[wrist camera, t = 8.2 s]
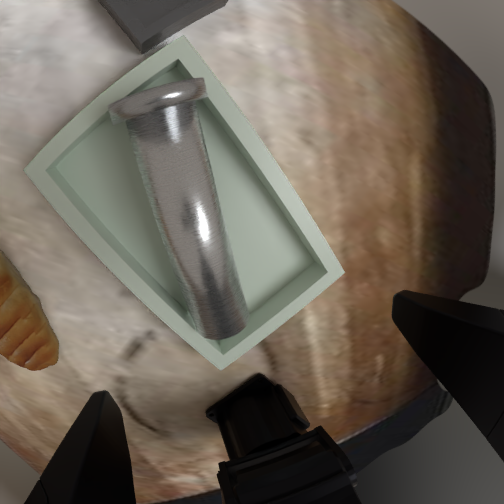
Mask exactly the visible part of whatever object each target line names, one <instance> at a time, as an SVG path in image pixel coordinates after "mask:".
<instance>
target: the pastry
mask: <svg viewBox="0 0 504 504" xmlns="http://www.w3.org/2000/svg"><path fill="white" fill-rule="evenodd" d="M0 354H1V355H3V356H4V357H6V358H7V359H8V360H9V361H11V362H13V363H15V364H17V365H19V366H21V367H24V368H27V369H29V370H31V371H36V370H41V369H44V368H46V367H48V366H50V365H55V364H56V363H57V361H58V354H59V341H58V339H57V337H56V335H55V333H54V332H53V329H52V328H51V326H50V325H49V322H48V319H47V317H46V316H45V314H44V312H43V309H42V306H41V302H40V300H39V298H38V297H37V296H36V295H35V294H33V293H32V291H31V289H30V287H29V286H28V285H27V284H26V282H25V281H24V279H23V278H22V276H21V274H20V273H19V271H18V270H17V269H16V267H15V266H14V265H13V264H12V263H11V261H10V260H9V259H8V258H7V257H6V256H5V254H4V253H3V252H2V251H0Z"/></svg>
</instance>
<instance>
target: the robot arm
mask: <svg viewBox="0 0 504 504" xmlns="http://www.w3.org/2000/svg"><path fill="white" fill-rule="evenodd" d="M392 319H393V321H394V323H395V324H396V326H397V327H398V329H399V330H400V331H401V333H402V334H403V336H404V337H405V338H406V340H407V341H408V343H409V344H410V346H411V347H412V348H413V350H414V351H415V353H416V354H417V355H418V356H419V358H420V359H421V360H422V361H423V362H424V363H425V365H426V366H427V367H428V368H429V369H430V370H431V372H432V373H433V374H434V375H435V376H436V377H437V379H438V380H439V381H440V382H441V383H442V385H444V387H445V388H446V389H447V391H448V392H449V393H450V394H451V395H452V397H453V398H454V399H455V400H456V401H457V403H458V404H459V405H460V406H461V408H462V409H463V410H464V411H465V412H466V414H467V415H468V416H469V417H470V419H471V420H472V421H473V422H474V424H475V425H476V426H477V428H478V429H479V430H480V431H481V433H482V434H483V435H484V436H485V437H486V439H487V441H488V442H489V443H490V444H491V446H492V447H493V448H494V450H495V451H496V452H497V453H498V455H499V456H500V458H501V459H502V460H503V462H504V310H501V309H500V310H499V309H496V308H491V307H486V306H481V305H476V304H471V303H466V302H461V301H457V300H452V299H447V298H442V297H437V296H432V295H427V294H423V293H418V292H413V291H408V290H403V291H400V292H398V293H396V294H395V295H394V297H393V304H392ZM260 379H261V380H260ZM205 413H206V417H207V418H209V419H210V420H212V421H214V422H215V423H217V424H218V426H219V429H220V432H221V435H222V438H223V441H224V444H225V447H226V450H227V453H228V456H229V459H230V461H227V462H225V461H223V462H219V463H218V464H219V469H220V471H218V474H217V478H218V481H219V484H220V488H221V493H222V504H361V502H360V499H359V497H358V495H357V493H356V491H355V489H354V486H356V485H357V477H356V474H355V471H354V469H353V467H352V464H351V463H350V461H349V459H348V458H347V456H346V455H345V453H344V452H343V451H342V450H341V448H340V447H339V446H338V445H337V444H336V443H335V442H334V440H333V439H332V438H331V437H330V436H329V435H328V433H327V432H326V431H325V430H324V429H323V428H322V426H321V425H320V426H318V427H316V428H314V430H311V431H309V432H307V431H306V429H307V428H309V426H310V423H309V421H308V420H307V418H306V416H305V415H304V413H303V411H302V410H301V408H300V406H299V405H298V403H297V401H296V400H295V398H294V396H293V395H292V394H291V393H290V392H289V391H287V390H286V389H285V388H284V387H283V386H282V385H280V384H277V385H275V384H274V383H273V382H272V381H270V380H269V379H268V378H267V377H266V376H265V375H263V374H259V375H257V376H255V377H254V378H252V379H251V380H250V381H248V382H247V383H245V384H244V385H243V386H241V387H240V388H238V389H237V390H235V391H234V392H232V393H231V394H230V395H228V396H227V397H225V398H224V399H222V400H221V401H219V402H218V403H216V404H215V405H213V406H212V407H210V408H209V409H207V410H206V412H205ZM24 504H136V499H135V491H134V484H133V475H132V466H131V459H130V454H129V449H128V444H127V439H126V434H125V429H124V423H123V417H122V413H121V410H120V408H119V407H118V405H117V404H116V402H115V401H114V399H113V398H112V396H111V395H110V393H109V392H108V391H106V390H103V391H98V392H94V393H93V394H92V396H91V397H90V399H89V400H88V402H87V403H86V405H85V406H84V408H83V409H82V411H81V412H80V414H79V415H78V417H77V418H76V420H75V422H74V423H73V425H72V426H71V428H70V429H69V431H68V433H67V434H66V436H65V437H64V439H63V440H62V442H61V444H60V445H59V447H58V448H57V450H56V452H55V453H54V455H53V457H52V458H51V460H50V461H49V463H48V465H47V466H46V468H45V470H44V471H43V473H42V475H41V476H40V480H38V481H37V483H36V485H35V486H34V488H33V490H32V491H31V493H30V495H29V496H28V498H27V500H26V501H25V503H24Z"/></svg>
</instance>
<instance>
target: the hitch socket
mask: <svg viewBox="0 0 504 504" xmlns="http://www.w3.org/2000/svg"><path fill="white" fill-rule="evenodd" d="M98 1H99V2H100V3H101V4H102V5H103V7H104V8H105V9H106V10H107V11H108V13H109V14H110V15H111V16H112V17H113V19H114V20H115V21H116V22H117V23H118V25H119V26H120V27H121V28H122V30H123V31H124V32H125V33H126V35H127V36H128V37H129V38H130V39H131V41H132V42H133V43H134V44H135V46H136V47H137V48H138V49H139V51H140V52H141V53H142V54H144V53H145V52H147V51H148V50H150V49H151V48H153V47H154V46H156V45H157V44H159V43H160V42H162V41H164V40H165V39H167V38H168V37H170V36H171V35H173V34H175V33H176V32H178V31H180V30H181V29H183V28H185V27H186V26H188V25H190V24H192V23H193V22H195V21H197V20H199V19H201V18H202V17H204V16H206V15H208V14H210V13H212V12H214V11H216V10H218V9H220V8H222V7H224V6H225V5H226V3H227V1H228V0H98Z"/></svg>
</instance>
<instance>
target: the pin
mask: <svg viewBox="0 0 504 504" xmlns="http://www.w3.org/2000/svg"><path fill="white" fill-rule="evenodd" d="M207 97H208V93H207V89H206V84H205V80H204V78H203V77H200V78H192V79H186V80H181V81H177V82H172V83H168V84H164V85H161V86H157V87H154V88H150V89H147V90H144V91H141V92H138V93H135V94H132V95H130V96H127V97H124V98H122V99H120V100H117V101H115V102H113V103H111V104H109V105H108V106H107V107H108V111H109V114H110V118H111V122H112V125H116V124H119V123H122V122H126V125H127V129H128V133H129V136H130V140H131V143H132V147H133V150H134V154H135V157H136V161H137V164H138V167H139V171H140V174H141V177H142V180H143V184H144V187H145V190H146V193H147V196H148V199H149V202H150V205H151V208H152V211H153V214H154V217H155V220H156V223H157V226H158V229H159V232H160V235H161V238H162V241H163V243H164V246H165V249H166V252H167V255H168V257H169V260H170V263H171V266H172V268H173V271H174V274H175V276H176V279H177V281H178V284H179V287H180V289H181V292H182V294H183V297H184V299H185V302H186V305H187V307H188V310H189V312H190V314H191V317H192V319H193V322H194V324H195V327H196V329H197V331H198V333H199V334H200V335H201V336H202V337H204V338H207V339H211V340H222V339H226V338H230V337H232V336H234V335H236V334H238V333H239V332H241V331H242V330H243V329H244V328H245V327H246V325H247V324H248V321H249V311H248V307H247V304H246V300H245V296H244V292H243V289H242V285H241V281H240V277H239V274H238V270H237V266H236V262H235V258H234V254H233V251H232V247H231V243H230V239H229V235H228V231H227V227H226V223H225V220H224V216H223V212H222V208H221V204H220V200H219V196H218V192H217V188H216V184H215V180H214V176H213V172H212V168H211V164H210V160H209V156H208V152H207V147H206V143H205V139H204V135H203V131H202V127H201V123H200V118H199V114H198V110H197V106H196V102H195V100H199V99H203V98H207Z"/></svg>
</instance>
